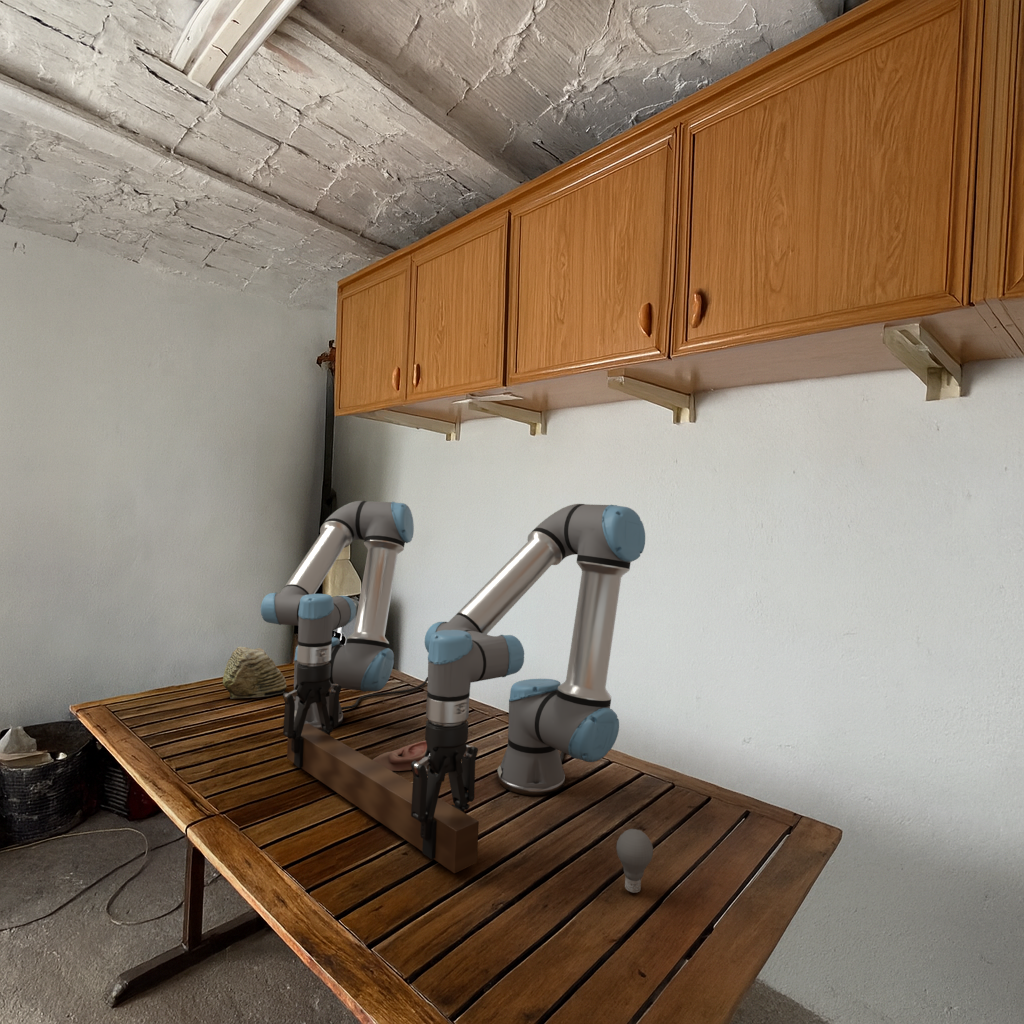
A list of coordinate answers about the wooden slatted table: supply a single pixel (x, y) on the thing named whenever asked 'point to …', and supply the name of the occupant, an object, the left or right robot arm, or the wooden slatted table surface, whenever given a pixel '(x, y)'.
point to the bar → (387, 797)
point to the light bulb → (634, 857)
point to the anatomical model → (402, 757)
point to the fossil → (252, 674)
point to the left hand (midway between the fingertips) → (310, 762)
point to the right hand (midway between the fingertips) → (441, 849)
